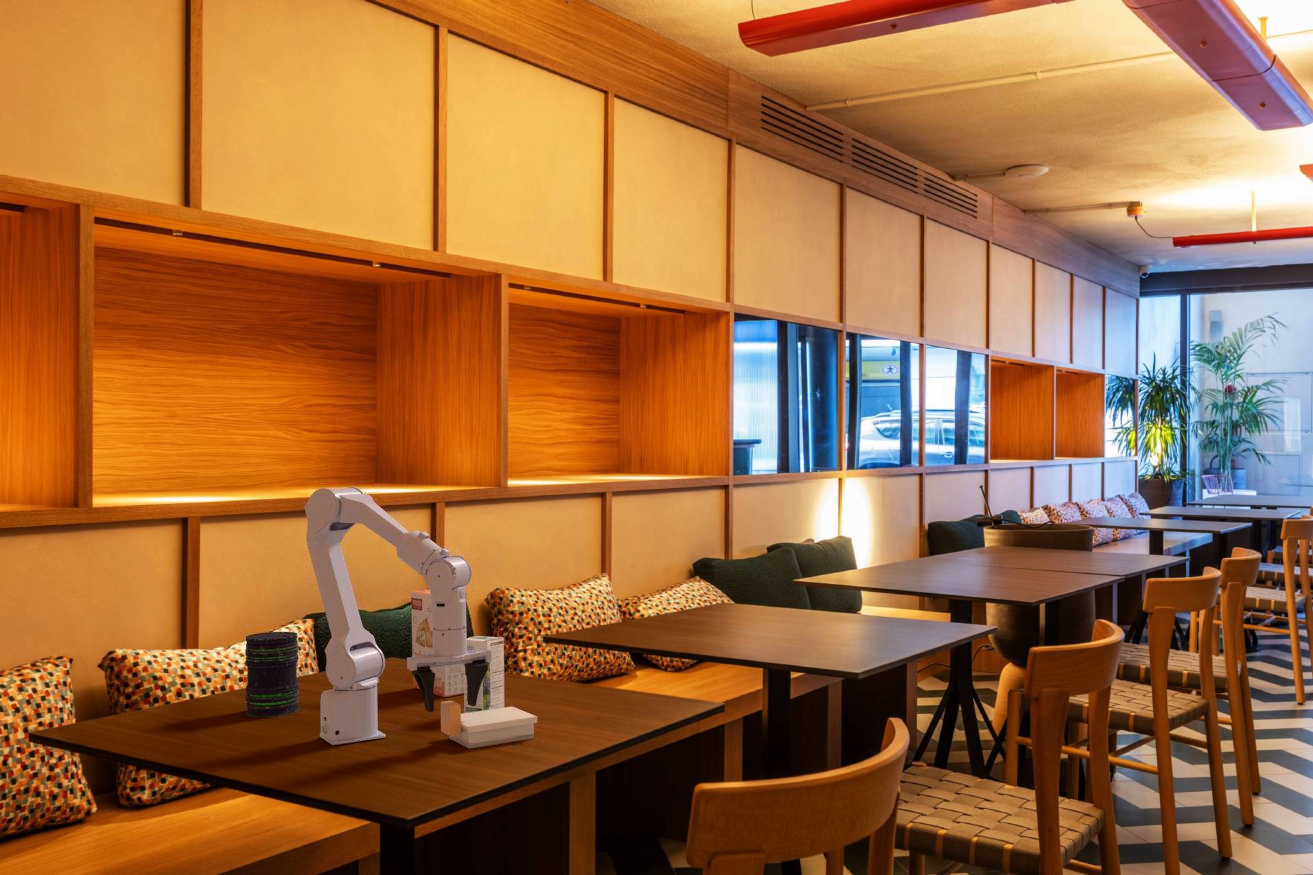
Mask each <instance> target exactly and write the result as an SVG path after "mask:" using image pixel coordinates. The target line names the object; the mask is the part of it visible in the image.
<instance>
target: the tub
mask: <svg viewBox="0 0 1313 875" xmlns="http://www.w3.org/2000/svg"><path fill="white" fill-rule="evenodd" d="M534 728H535V723H530V724H524V725H517V726H511V727H504V728H497V729H491V730H484V731H478V732H471V733H467V729H465V728H463V727H461V734H459V735H452V736H449V735H448V739H450V740H451V741H453V742H456V743H458V744H460V745H462V746H463V747H465V748H467V749H476V748H483V747H487V746H488V747H489V746H495V745H501V744H507V743H512V742H520V741H527V740H531V739H534V738H535V729H534Z"/></svg>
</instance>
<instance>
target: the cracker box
mask: <svg viewBox="0 0 1313 875" xmlns="http://www.w3.org/2000/svg"><path fill="white" fill-rule="evenodd" d="M410 595H411V596H410V599H411V600H410V601H411V602H410V603H411V606H410V607H411V645H412V646H411V651H412V653H411V655H412V656H411V657H417V656H422V655H427V654H433V633H432V629H433V628H432V599H431V592H430V590H429V589H418V590H413V591H411V593H410ZM449 662H453V661H449ZM442 663H444V662H442ZM434 664H435V663H434ZM431 669H432V672H434V673H435V680H434V691H433V695H434V696H435V695H436V696H438V697H441V698H451V697H453V696H454V697H455V696H460V695H464V664H457V665H449V666H441V667H432V668H430V670H431ZM412 687H413V689H417V690H420V688H419V686H418V684H417V682H416V680H415V678H414V676H413V675H412Z"/></svg>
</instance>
